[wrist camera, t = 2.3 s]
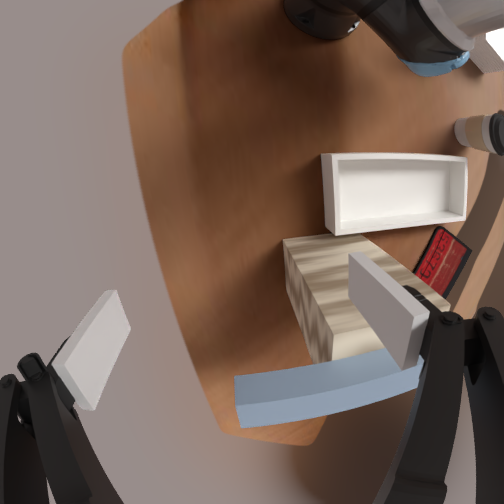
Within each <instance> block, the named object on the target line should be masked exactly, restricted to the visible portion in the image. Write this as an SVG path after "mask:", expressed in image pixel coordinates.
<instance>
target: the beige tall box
mask: <svg viewBox="0 0 504 504" xmlns="http://www.w3.org/2000/svg"><path fill="white" fill-rule="evenodd" d="M283 250H284V263H285V277H286V291H287V293H288V296H289V299H290V301H291V304H292V307H293V310H294V312H295V315H296V318H297V320H298V323H299V326H300V329H301V331H302V334H303V337H304V339H305V342H306V345H307V348H308V351H309V353H310V356H311V359H312V362H313V364H319V363H324V362H329V361H333V360H338V359H343V358H347V357H351V356H355V355H360V354H364V353H368V352H371V351H375V350H379V349H383V348H385V346H384V345H383V343H382V342H381V341H380V339H379V338H378V336H377V335H376V334H375V332H374V331H373V330H372V328H371V327H370V325H369V324H368V323H367V321H366V320H365V319H364V317H363V316H362V315H361V313H360V312H359V311H358V309H357V308H356V306H355V305H354V304H353V303H352V301H351V300H350V299H349V297H348V283H349V259H348V253H353V252H359V251H361V252H362V253H364V254H365V255H366V256H367V257H368V258H370V259H371V260H372V261H373V262H374V263H376V264H377V265H378V266H379V267H380V268H381V269H383V270H384V271H385V272H386V273H387V274H388V275H390V276H391V277H392V278H393V279H394V280H395V281H397V282H398V283H399V284H400V285H401V286H404V285H408V286H410V287H413V288H415V289H416V290H418V291H419V292H420V293H421V295H423V296H425V297H426V299H428V300H429V301H430V302H431V303H432V304H434V305H435V306H436V307H437V308H438V309H439V310H440V311H441V312H444V311H449V309H450V305H451V304H450V303H449V302H447V301H446V300H445V299H444V298H443V297H441V296H440V295H439V294H438V293H437V292H435V291H434V290H433V289H432V288H431V287H429V286H428V285H427V284H426V283H424V282H423V281H422V280H421V279H419V278H418V277H417V276H416V275H414V274H413V273H412V272H411V271H409V270H408V269H407V268H406V267H404V266H403V265H402V264H400V263H399V262H398V261H396V260H395V259H394V258H392V257H391V256H390V255H388V254H387V253H386V252H384V251H383V250H382V249H380V248H379V247H378V246H376V245H375V244H374V243H372V242H371V241H369V240H368V239H367V238H365V237H364V236H362V235H361V234H360V233H354V234H346V235H337V236H335V235H334V234H333V233H330V234H322V235H314V236H306V237H297V238H289V239H283Z"/></svg>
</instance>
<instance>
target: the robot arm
mask: <svg viewBox="0 0 504 504" xmlns="http://www.w3.org/2000/svg"><path fill="white" fill-rule="evenodd" d="M284 10H285V12H286V15H287V16H288V18H289V19H290V21H291V22H292V23H293V24H294V25H295V26H296V27H298V28H299V29H300V30H302V31H304V32H305V33H307V34H309V35H312V36H314V37H318V38H322V39H330V40H333V39H340V38H344V37H346V36H348V35H349V34H350V33H352V32H353V31H354V30H355V29H356V28H357V26H358V25H359V22H360V19H362V20H363V21H364V22H365V23H366V24H367V25H368V26H369V27H370V28H371V29H372V30H373V31H374V32H375V33H376V34H377V35H378V36H379V37H380V38H381V39H382V40H383V41H384V42H385V43H386V44H387V45H388V46H389V47H390V48H391V49H392V50H393V52H394V53H395V54H396V56H397V57H398V58H399V59H400V60H401V61H402V62H404V63H405V64H406V65H407V67H408V68H409V69H410V70H411V71H412V72H414V73H415V74H417V75H419V76H424V77H432V76H438V75H442V74H446V73H448V72H451V71H452V69H457V68H459V67H461V66H462V65H463V64H465V63H466V62H467V60H468V59H469V56H470V54H469V51H470V50H472V49H473V47H474V41H475V37H477V36H480V35H483V34H486V33H489V32H492V31H495V30H498V29H501V28H504V0H284ZM348 259H349V283H348V297H349V299H350V300H351V301H352V303H353V304H354V305H355V306H356V308H357V309H358V311H359V312H360V313H361V315H362V316H363V317H364V319H365V320H366V321H367V323H368V324H369V325H370V327H371V328H372V330H373V331H374V332H375V334H376V335H377V336H378V338H379V339H380V341H381V342H382V343H383V345H384V346H385V348H386V349H387V350H388V352H389V353H390V355H391V356H392V358H393V359H394V360H395V362H396V363H397V365H398V366H399V368H400V369H401V371H403V370H406V369H409V368H411V367H414V366H416V365H417V362H418V359H419V355H420V356H421V357H422V358H423V360H424V363H423V366H422V369H421V372H420V375H419V378H418V379H419V383H418V387H417V391H416V395H415V398H414V402H413V405H412V408H411V412H410V415H409V418H408V421H407V424H406V427H405V430H404V433H403V436H402V439H401V441H400V444H399V447H398V449H397V452H396V455H395V457H394V459H393V462H392V464H391V466H390V469H389V471H388V473H387V475H386V478H385V480H384V482H383V484H382V486H381V488H380V490H379V492H378V494H377V496H376V498H375V500H374V502H373V504H443V503H444V500H445V497H446V493H447V486H446V484H445V483H444V480H445V475H446V472H447V468H448V464H449V461H450V457H451V452H452V448H453V444H454V439H455V434H456V429H457V423H458V417H459V410H460V403H461V394H462V384H463V372H464V377H465V381H466V386H467V391H468V397H469V403H470V409H471V415H472V423H473V432H474V442H475V455H476V504H504V318H503V316H502V315H501V313H500V312H499V311H497V310H496V309H495V308H492V307H482V308H480V309H479V310H478V311H477V314H476V318H475V319H466V320H463V318H462V317H461V316H460V315H459V314H457V313H454V312H451V311H444V312H441V311H440V310H439V309H438V308H437V307H436V306H435V305H434V304H432V303H431V302H430V301H429V300H428V299H426V297H425V296H423V295H421V293H420V292H419V291H418V290H416V289H415V288H413V287H410V286H408V285H404V286H401V285H400V284H399V283H398V282H397V281H395V280H394V279H393V278H392V277H391V276H390V275H388V274H387V273H386V272H385V271H384V270H383V269H381V268H380V267H379V266H378V265H377V264H376V263H374V262H373V261H372V260H371V259H370V258H368V257H367V256H366V255H365V254H364V253H362V252H361V251H359V252H353V253H348ZM130 330H131V327H130V325H129V322H128V320H127V317H126V315H125V312H124V310H123V307H122V304H121V302H120V299H119V296H118V293H117V291H116V289H114V290H106V291H104V293H103V294H102V295H101V296H100V298H99V299H98V300H97V302H96V303H95V304H94V305H93V307H92V308H91V309H90V311H89V312H88V313H87V315H86V316H85V317H84V318H83V320H82V321H81V322H80V324H79V325H78V327H77V328H76V329H75V331H74V332H73V333H72V335H71V336H69V337H68V338H67V339H66V340H65V341H64V342H63V344H62V345H61V346H60V348H59V349H58V351H57V353H55V355H54V356H53V358H52V359H51V361H50V362H49V364H48V365H47V367H46V366H45V365H44V363H43V361H42V359H41V358H40V356H39V355H38V354H37V353H30V354H28V355H26V356H24V357H23V358H22V359H21V360H20V361H19V363H18V365H17V368H18V369H19V371H20V373H21V374H22V376H23V377H24V379H25V380H26V381H23V382H19V381H18V379H17V378H16V376H15V375H14V374H8V375H5V376H4V377H2V378H1V380H0V504H49V497H48V489H47V480H48V483H49V485H50V488H51V491H52V494H53V496H54V499H55V501H56V504H124V503H123V501H122V500H121V498H120V497H119V495H118V494H117V492H116V490H115V489H114V487H113V486H112V484H111V482H110V480H109V479H108V477H107V475H106V473H105V472H104V470H103V468H102V466H101V464H100V462H99V460H98V458H97V456H96V454H95V453H94V450H93V449H92V446H91V444H90V442H89V440H88V438H87V435H86V433H85V431H84V429H83V426H82V424H81V422H80V419H79V417H78V414H77V412H76V410H75V409H74V407H73V404H74V402H75V401H76V402H77V403H78V405H79V406H80V408H81V409H85V410H95V408H96V406H97V403H98V401H99V399H100V396H101V394H102V391H103V389H104V386H105V384H106V382H107V380H108V378H109V375H110V373H111V371H112V369H113V366H114V364H115V362H116V360H117V358H118V355H119V353H120V351H121V349H122V347H123V345H124V343H125V340H126V339H127V337H128V335H129V332H130ZM17 415H18V416H19V418H20V419H21V423H20V422H19V420H18V417H17ZM46 477H47V479H46Z"/></svg>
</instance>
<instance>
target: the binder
mask: <svg viewBox="0 0 504 504" xmlns="http://www.w3.org/2000/svg"><path fill="white" fill-rule="evenodd" d="M471 252H472V250H471V249H470V248H469V247H467V246H466V245H465V244H464V243H462V242H461V241H460V240H459V239H458V238H456V237H455V236H454V235H453V234H452V233H450V232H449V231H448V230H446V229H445V228H444V227H442V226H438V227H437V228H436V229H435V230H434V233H433V235H432V238H431V240H430V243H429V245H428V247H427V249H426V251H425V253H424V255H423V257H422V258H421V260H420V262H419V264H418V266H417V268H416V269H415V271H414V273H413V274H414V275H416V276H417V277H418V278H419V279H421V280H422V281H423V282H424V283H426V284H427V285H428V286H429V287H431V288H432V289H433V290H434V291H435V292H437V293H438V294H439V295H440V296H441V297H443V298H444V299H446V298H447V296H448V294H449V292H450V291H451V289H452V287H453V286H454V284H455V282H456V280H457V278H458V277H459V275H460V273H461V271H462V269H463V268H464V266H465V264H466V262H467V260H468V258H469V256H470V254H471Z"/></svg>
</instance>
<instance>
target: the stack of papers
mask: <svg viewBox="0 0 504 504" xmlns="http://www.w3.org/2000/svg"><path fill="white" fill-rule="evenodd" d="M469 54H470V56H469V58H470V59H471V60H472V61H473V62H474V63H475V64H476V65H477V67H478V68H479V69H480V70H481V71H482V72H483V73H491V72H497V71H498V72H499V71H504V28H501V29H498V30H495V31H492V32H489V33H486V34H483V35H480V36H477V37H475V41H474V48H473V49H472V50H470V51H469Z"/></svg>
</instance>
